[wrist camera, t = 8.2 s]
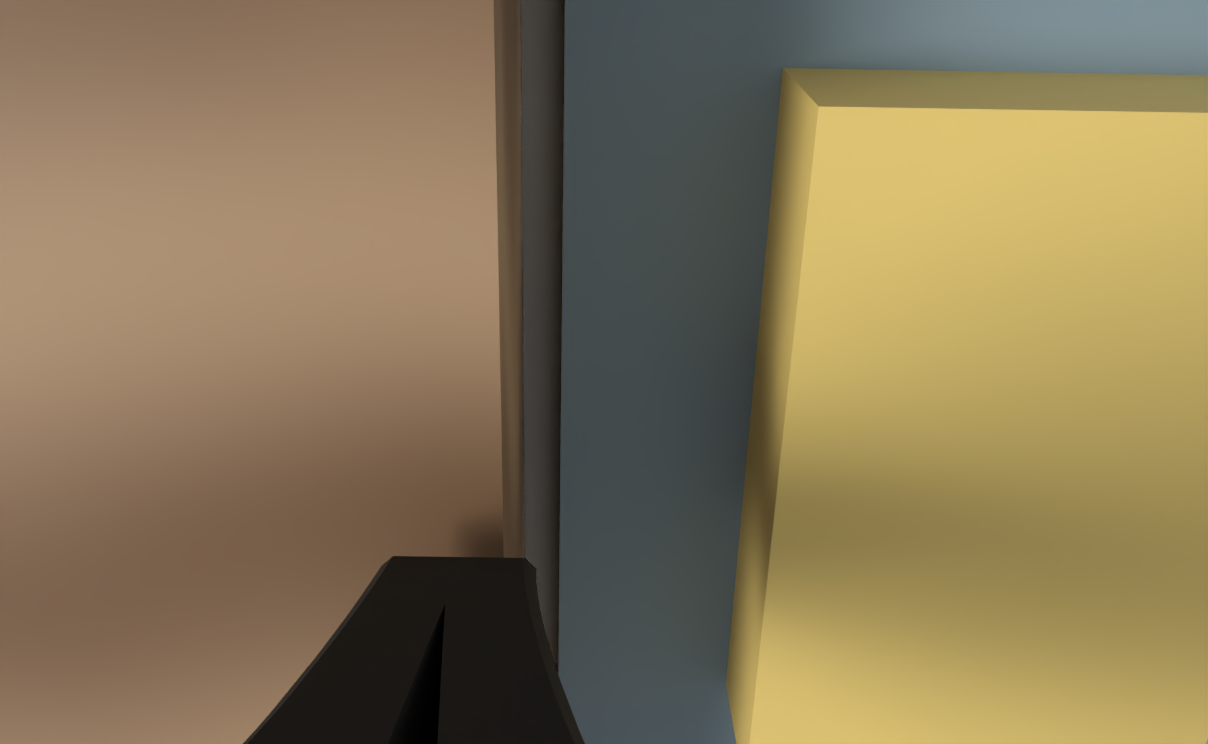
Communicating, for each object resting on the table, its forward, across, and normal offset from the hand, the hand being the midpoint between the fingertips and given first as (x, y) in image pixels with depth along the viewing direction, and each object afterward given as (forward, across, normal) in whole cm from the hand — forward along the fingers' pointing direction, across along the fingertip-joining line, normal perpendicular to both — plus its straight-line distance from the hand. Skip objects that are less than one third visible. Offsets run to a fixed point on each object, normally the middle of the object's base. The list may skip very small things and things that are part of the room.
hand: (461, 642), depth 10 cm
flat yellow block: (+2, -6, 0) cm, 7 cm away
